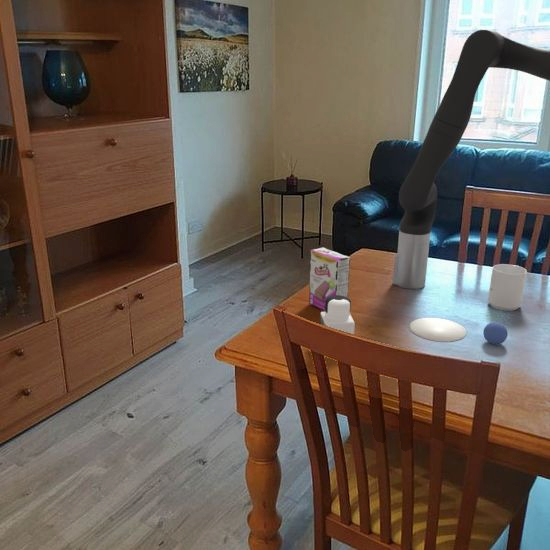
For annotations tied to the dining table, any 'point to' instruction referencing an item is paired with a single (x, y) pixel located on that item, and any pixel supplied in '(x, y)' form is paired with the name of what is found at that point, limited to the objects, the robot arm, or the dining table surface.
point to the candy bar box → (327, 276)
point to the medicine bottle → (338, 314)
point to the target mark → (437, 329)
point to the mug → (507, 287)
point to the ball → (495, 333)
